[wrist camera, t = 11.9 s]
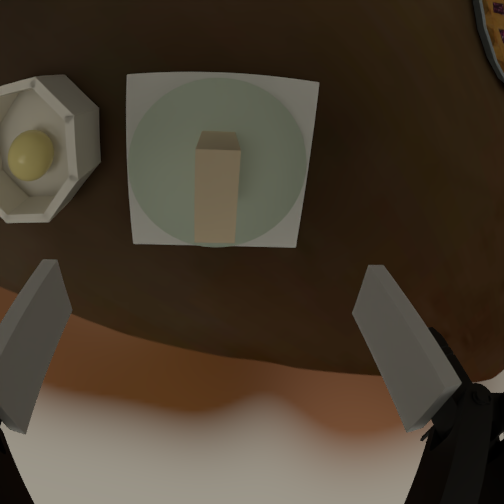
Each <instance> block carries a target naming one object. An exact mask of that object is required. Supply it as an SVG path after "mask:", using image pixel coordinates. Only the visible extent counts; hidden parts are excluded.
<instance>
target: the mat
mask: <svg viewBox="0 0 504 504" xmlns="http://www.w3.org/2000/svg"><path fill="white" fill-rule="evenodd" d="M207 78H229V79H236V80H240V81H244V82H248V83H250V84H253V85H255V86H258V87H260V88H262V89H263V90H265V91H267V92H268V93H270V94H271V95H273V96H274V97H275V98H276V99H278V100H279V101H280V102H281V103H282V104H283V105H284V106H285V107H286V108H287V109H288V111H289V112H290V113H291V115H292V116H293V118H294V119H295V121H296V123H297V125H298V127H299V129H300V131H301V134H302V137H303V140H304V144H305V149H306V174H305V178H304V183H303V186H302V189H301V192H300V194H299V196H298V198H297V200H296V202H295V204H294V205H293V207H292V208H291V210H290V211H289V213H288V214H287V215H286V216H285V217H284V218H283V219H282V221H280V222H279V223H278V224H277V225H276V226H275V227H274V228H272V229H271V230H269V231H268V232H266V233H265V234H263V235H261V236H259V237H258V238H256V239H253V240H251V241H248V242H246V243H242V244H238V245H234V246H252V247H292V248H296V243H297V237H298V231H299V225H300V219H301V212H302V206H303V200H304V193H305V187H306V180H307V173H308V167H309V160H310V152H311V145H312V138H313V130H314V123H315V115H316V107H317V99H318V90H319V82H313V81H306V80H299V79H292V78H284V77H275V76H265V75H254V74H241V73H221V72H158V73H140V74H127V87H126V147H127V172H128V189H129V203H130V215H131V226H132V235H133V244H163V245H193V244H190V243H187V242H184V241H181V240H179V239H177V238H174V237H172V236H171V235H169V234H168V233H166V232H164V231H163V230H162V229H160V228H159V227H158V226H157V225H155V224H154V223H153V222H152V221H151V220H150V219H149V218H148V216H147V215H146V214H145V212H144V211H143V210H142V208H141V207H140V205H139V203H138V201H137V200H136V197H135V195H134V193H133V190H132V187H131V183H130V179H129V171H128V156H129V150H130V144H131V141H132V138H133V135H134V132H135V130H136V128H137V126H138V124H139V122H140V121H141V119H142V118H143V116H144V115H145V113H146V112H147V111H148V110H149V109H150V108H151V106H152V105H153V104H154V103H155V102H157V101H158V100H159V99H160V98H161V97H162V96H164V95H165V94H167V93H168V92H170V91H171V90H173V89H175V88H177V87H179V86H181V85H184V84H186V83H189V82H193V81H196V80H201V79H207Z"/></svg>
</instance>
